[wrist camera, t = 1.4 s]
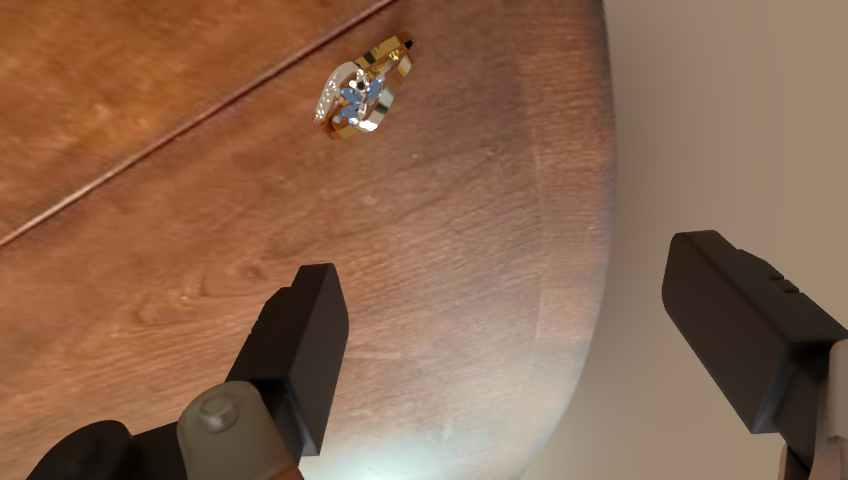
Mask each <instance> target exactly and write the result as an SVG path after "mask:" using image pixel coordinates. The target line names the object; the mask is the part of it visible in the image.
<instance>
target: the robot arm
mask: <svg viewBox="0 0 848 480" xmlns="http://www.w3.org/2000/svg"><path fill="white" fill-rule="evenodd" d="M662 300H663V304H664V307H665V310H666V311H667V313H668V315H669V316H670V318H671V319H672V321H673V322H674V324H675V325H676V326H677V328H678V329H679V331H680V332H681V334H682V335H683V337H684V338H685V339H686V341H687V342H688V343H689V345H690V347H691V348H692V349H693V351H694V352H695V354H696V355H697V357H698V358H699V359H700V361H701V362H702V364H703V365H704V367H705V368H706V369H707V371H708V372H709V374H710V375H711V377H712V378H713V379H714V381H715V382H716V384H717V385H718V387H719V388H720V389H721V391H722V392H723V394H724V395H725V397H726V398H727V400H728V401H729V402H730V404H731V405H732V407H733V408H734V410H735V411H736V412H737V414H738V415H739V417H740V418H741V420H742V421H743V422H744V424H745V425H746V427H747V428H748V430H749V431H750V433H751V434H761V433H780V434H781V436H782V437H783V438H784V440H785V441H786V443H785V445H784V447H783V449H782V452H781V458H780V465H779V473H778V480H848V330H847V329H845V328H844V327H843V326H842V325H841V324H839V323H838V322H837V321H836V320H835V319H833V318H832V317H831V316H830V315H829V314H828V313H826V312H825V311H824V310H823V309H822V308H821V307H819V306H818V305H817V304H816V303H815V302H814V301H812V300H811V299H810V298H809V297H808V296H806V295H805V294H804V293H800V292H799V289H798V288H797V287H796V286H795V285H793V284H792V283H791V282H790V281H789V280H785V279H784V276H783V275H782V274H781V273H779V272H778V271H777V270H776V269H775V268H774V267H772V266H771V265H770V264H769V263H768V262H766V261H765V260H763V259H760V258H758V257H756V256H754V255H752V254H750V253H748V252H746V251H744V250H742V249H738V250H737V249H736V248H735V247H734V246H732V245H731V244H730V243H729V242H728V241H727V240H726V239H725V238H723V237H722V236H721V235H720V234H719V233H718V232H716V231H714V230H706V231H694V232H682V233H677V234H675V235H674V236H673V238H672V240H671V244H670V249H669V254H668V260H667V265H666V269H665V274H664V279H663V285H662ZM348 333H349V319H348V312H347V308H346V304H345V301H344V297H343V293H342V289H341V286H340V282H339V278H338V275H337V271H336V268H335V266H334V264H333V263H324V264H313V265H302V266H301V267H300V268H299V270H298V272H297V274H296V277H295V279H294V281H293V283H292V285H291V287H282V288H280V289H279V290H278V291H277V292H276V293H275V294H274V295H273V296H272V297H271V298H270V299H269V300H268V301H266V303H265V305H264V307H263V309H262V311H261V313H260V315H259V317H258V321H256V322H255V324H254V326H253V328H252V330H251V334H249V336H248V338H247V340H246V342H245V343H244V345H243V347H242V349H241V351H240V353H239V355H238V357H237V359H236V361H235V363H234V365H233V366H232V368H231V370H230V372H229V374H228V376H227V378H226V380H225V382H224V383H222V384H219V385H216V386H214V387H212V388H210V389H208V390H206V391H205V392H203V393H202V394H200V395H199V396H198V397H196V398H195V399H194V400H193V401H192V402H191V403H190V404H189V405H188V406H187V407H186V409H185V410H184V411H183V413H182V415H181V416H180V418H179V421H176V422H173V423H170V424H167V425H164V426H161V427H158V428H155V429H152V430H149V431H146V432H143V433H140V434H137V435H134V436H132V435H131V434H130V432H129V431H128V429H127V428H126V427H125V425H124V424H122V423H121V422H118V421H114V420H105V421H99V422H96V423H92V424H89V425H87V426H85V427H82V428H80V429H78V430H76V431H75V432H73V433H71V434H70V435H68V436H67V437H65V438H64V439H62V440H61V441H60V442H58V443H57V444H56V445H55V446H54V447H53V448H51V449H50V450H49V451H48V452H47V453H46V454H45V456H44V457H43V458H42V459H41V460H40V462H39V463H38V464H37V466H36V467H35V468H34V470H33V471H32V472H31V473H30V475H29V476H28V477H27V479H26V480H304V478H303V476H302V474H301V472H300V470H299V468H298V466H299V462H300V459H301V457H303V456H319V455H320V451H321V446H322V442H323V438H324V434H325V430H326V426H327V422H328V417H329V413H330V409H331V405H332V401H333V397H334V393H335V388H336V384H337V380H338V376H339V372H340V368H341V363H342V359H343V355H344V351H345V347H346V343H347V339H348Z"/></svg>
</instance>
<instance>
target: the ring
mask: <svg viewBox="0 0 848 480" xmlns="http://www.w3.org/2000/svg"><path fill="white" fill-rule="evenodd" d="M413 40H414V38H413V37H412V35H411V34H410V32H409V31H404V32H402V33H399V34H397V35H395V36H393V37H392V38H390V39H388V40H386V41H385V42H383V43H381V44H380V45H378V46H377V47H375V48H373V49H372V50H370V51H369V52H367V53H366V54H365V55H363V56H362V57H360V58H359V59H357V60H356V61H355V62H346V63H344V64H342V65H340V66H339V67H338V68H337V69H336V70H335V71H334V72H333V73H332V74H331V76H330V77H329V79H328V81H327V83H326V85H325V87H324V90H323V92H322V95H321V97H320V100H319V103H318V105H317V107H316V110H315V112H314V115H313V117H312V120H313V121H314V122H315V123H316V125H317V126H318V127H321V126H322V125H323V127H322V130H323V132H324V133H325V134H326V135H327V136H328V137H329V138H330V139H331V140H339V139H343V138H346V137H348V136H350V135H352V134H354V133H356V132H358V131H361V132H369V131H371V130H373V129H374V128H376V127H377V126H378V124H379V123H380V122H381V121H382V119H383V118H384V116H385V114H386V112H387V110H388V109H389V107H390V105H391V103H392V101H393V99H394V97H395V95H396V93H397V91H398V89H399V87H400V86H401V84H402V82H403V80H404V79H405V77H406V75H407V73H408V72H409V70H410V68H411V67H412V65H413V63H414V62H415V60H416V58H417V57H418V55H419V53H420V51H421V49H420V47H419V46H418V44H417V42H416V41H413ZM393 66H394V67H393ZM392 67H393V68H392ZM390 68H392V70H391V72H390V74H389V75H388V77H387V79H386V81H385V83H384V85H383V83H382V81H384V80H385V77H384V73H385V72H387V71H388V70H389V69H390ZM351 76H356V77H357V78H356V79H355V80H352V81H351V82H350V84H349V85H348V86H346V87H345V86H344V83H345V82H346V81H347V79H348V78H350V77H351ZM366 96H367V97H368V98H366ZM375 99H376V101H375V103H374V100H375ZM367 104H368V105H367ZM373 104H374V105H373ZM371 105H373V107H372V109H371V110H370V112H369V113H368V114H367V116H366V117H364V115H365V113H366V111H367V109H368V107H369V106H371ZM342 117H343V118H346V120H344V121H342V122H340V121H341V119H342ZM363 117H364V118H363ZM362 118H363V119H362ZM339 122H340V123H339Z"/></svg>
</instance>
